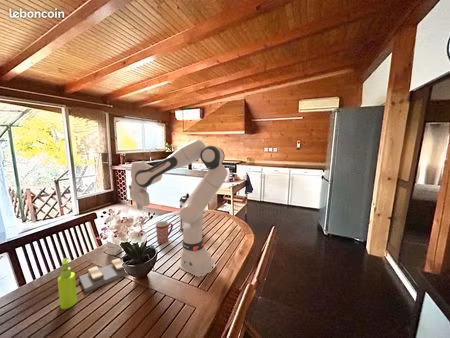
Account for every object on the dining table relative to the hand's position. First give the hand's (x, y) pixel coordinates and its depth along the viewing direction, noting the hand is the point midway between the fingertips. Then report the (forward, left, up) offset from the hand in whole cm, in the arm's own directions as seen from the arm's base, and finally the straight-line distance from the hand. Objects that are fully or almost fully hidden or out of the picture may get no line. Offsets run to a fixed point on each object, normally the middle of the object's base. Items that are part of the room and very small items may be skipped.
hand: (139, 209), depth 125 cm
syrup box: (+12, +12, -29) cm, 34 cm away
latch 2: (-9, +17, -26) cm, 32 cm away
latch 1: (-9, +27, -26) cm, 39 cm away
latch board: (-9, +22, -29) cm, 38 cm away
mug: (+4, -19, -29) cm, 35 cm away
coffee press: (+10, -43, -29) cm, 53 cm away
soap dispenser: (-17, +40, -29) cm, 52 cm away
